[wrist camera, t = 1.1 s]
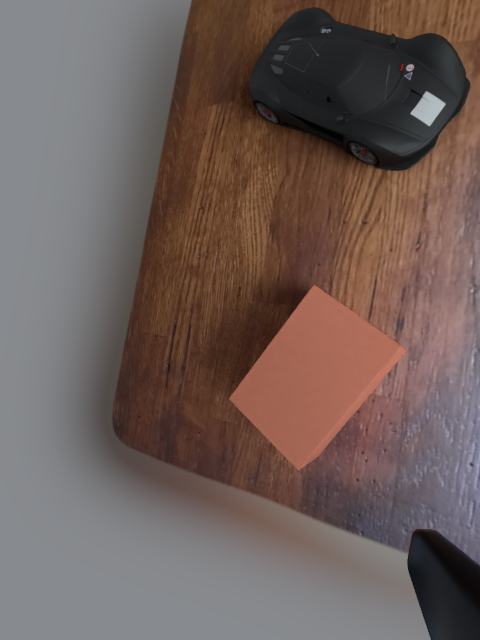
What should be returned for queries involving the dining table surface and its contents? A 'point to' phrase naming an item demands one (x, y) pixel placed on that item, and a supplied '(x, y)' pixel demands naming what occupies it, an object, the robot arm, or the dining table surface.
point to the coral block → (314, 376)
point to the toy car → (360, 87)
